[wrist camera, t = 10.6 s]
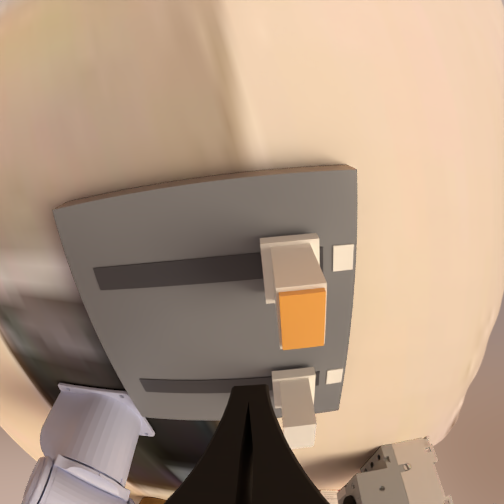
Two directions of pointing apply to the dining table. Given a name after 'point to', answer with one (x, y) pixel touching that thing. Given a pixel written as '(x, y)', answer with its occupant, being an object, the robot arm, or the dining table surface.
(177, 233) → the breaker panel
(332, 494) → the ink cartridge box
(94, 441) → the robot arm
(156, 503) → the plant pot
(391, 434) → the dining table surface
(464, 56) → the dining table surface
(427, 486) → the circuit breaker
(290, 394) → the block
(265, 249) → the block
